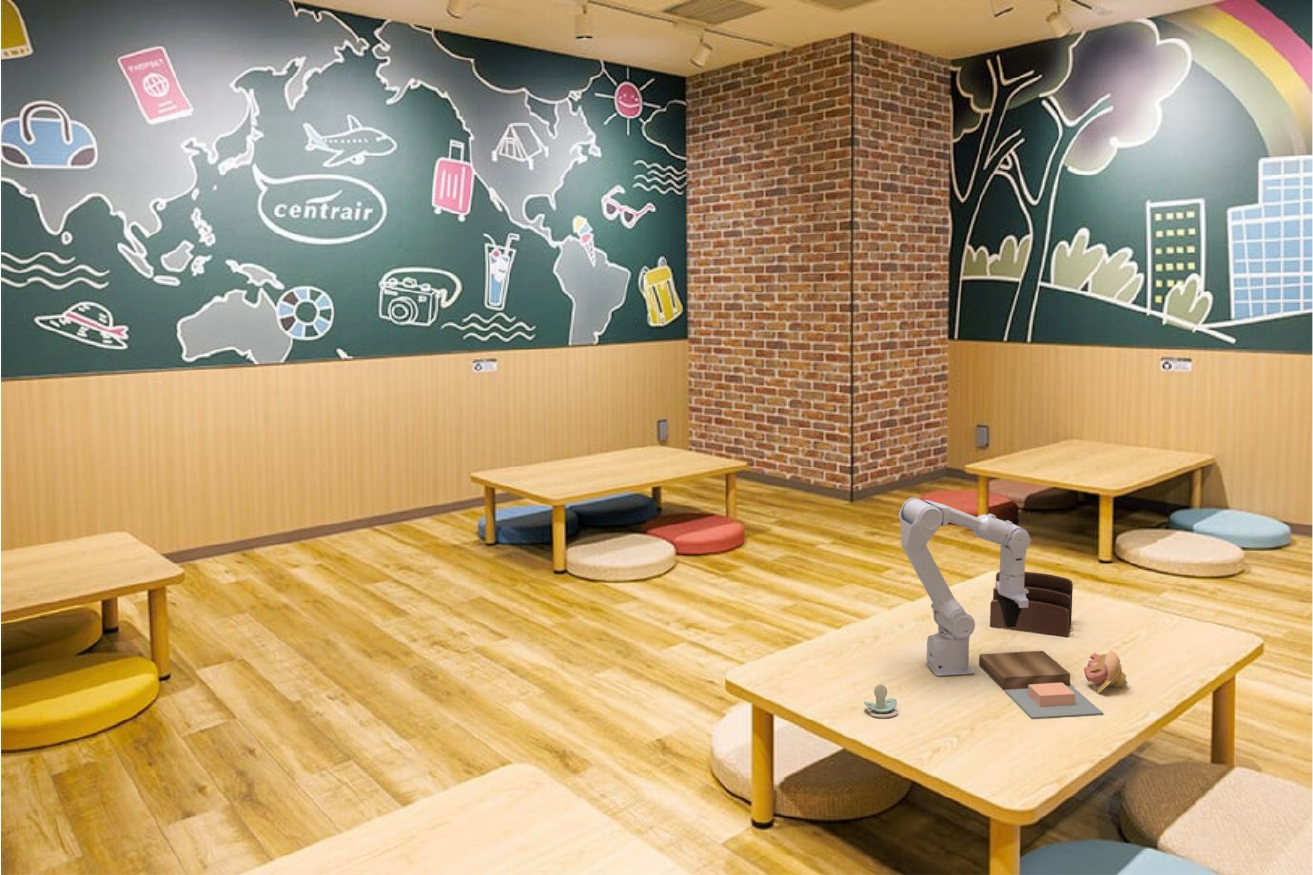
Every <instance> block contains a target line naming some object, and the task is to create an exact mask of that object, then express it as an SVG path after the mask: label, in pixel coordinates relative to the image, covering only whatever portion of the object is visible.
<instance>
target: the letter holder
mask: <svg viewBox="0 0 1313 875" xmlns="http://www.w3.org/2000/svg"><path fill="white" fill-rule="evenodd" d="M999 578H1000V571H998V572H997V573H996V574H995V582H996V581H999ZM1024 588H1025V589H1027V590H1028V591H1029V593H1027V594H1026V598H1027V599H1028V608H1022V610H1021V612H1020V614H1019V617H1018V620H1017V623H1016V626H1015V627H1006V626H1005V623H1004V618H1003V613H1002V609H1001V607H1000V604H999V602H998V600H997V597H999V596H1002V595H1000V594H999V593H998V590H997V589H995V587H994V588H993V590H992V591H993V593H992V595H993V596H992V600H991V601H990V609H989V610H990V611H989V613H990V615H989V627H990V628H995V629H1001V628H1003V629H1002V630H1009V629H1010V631H1016V632H1017V631H1018V632H1027V633H1034V634H1041V635H1047V636H1056V637H1063V638H1069V635H1070V630H1071V629H1072V628H1071V627H1072V615H1073V614H1072V613H1073V588H1074V583H1073V581H1072V579H1069V578H1066V577H1062V576H1058V575H1052V574H1049V573H1048V574H1047V573H1041V572H1040V573H1039V572H1031V571H1025V576H1024Z"/></svg>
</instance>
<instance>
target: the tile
mask: <svg viewBox="0 0 1313 875" xmlns="http://www.w3.org/2000/svg"><path fill="white" fill-rule="evenodd" d="M1027 689H1028V696H1029V697H1031V698H1032V699H1033V700H1034V701H1035V702H1036V703H1037V704H1038V705H1039V706H1055V705H1072V704H1075V693H1074V692H1073V691H1072V690H1070V689H1069V688H1068V687H1067V686H1066V685H1065V684H1063V683H1046V684H1029V685H1028V688H1027Z"/></svg>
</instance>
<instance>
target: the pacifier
mask: <svg viewBox="0 0 1313 875" xmlns="http://www.w3.org/2000/svg"><path fill="white" fill-rule="evenodd" d="M873 695H874V696H875V703H874V702H870V701H863V702H864V703H863V704H864V705H865V706H866V707H867V708H869V709H870V710H869V715H870V716H872V717H873V718H879V719H887V718H893V717H895V716H897V715H898V714H899V711H898V710H897V709H895V708H896V707H897V705H898V701H897V699H896V698H887V699H886V697H887V696H888V689H887V687H886V686H885V684H881V683H879V684H877V685H876V686H875V687H874V689H873ZM890 712H891V713H890ZM876 713H879V714H876ZM883 713H885V714H883Z"/></svg>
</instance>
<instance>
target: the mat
mask: <svg viewBox="0 0 1313 875" xmlns="http://www.w3.org/2000/svg"><path fill="white" fill-rule="evenodd" d="M1067 687H1068V688H1069V689H1070V690H1072V691H1073V692H1074V693H1075V704H1072V705H1055V706H1039V705H1038V704H1037V703H1036V702H1035V701H1034V700H1033V699H1032V698H1031V697H1029V696H1028V688H1025V689H1008V690H1004V692H1005V694H1007V695H1008V697H1010V699H1012V701H1013V702H1014V703H1016V705H1017V706H1019V708H1020V709H1021V710H1022V711H1023V712H1024V713H1025V714H1027V716H1028V717H1029V718H1030V719H1032V720H1037V719H1038V720H1039V719H1054V718H1065V717H1066V718H1068V717H1069V718H1071V717H1082V716H1083V717H1086V716H1088V717H1090V716H1103V715H1104V712H1103V711H1102V710H1100V708H1098V706H1096V705H1095V704H1094V703H1092V701H1090V700H1089V699H1088V698H1087V697H1086V696H1084V695H1083V693H1081V692H1080V691H1079V690H1077V689H1076V688H1075V687H1074V686H1072V685H1070V686H1067Z"/></svg>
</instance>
